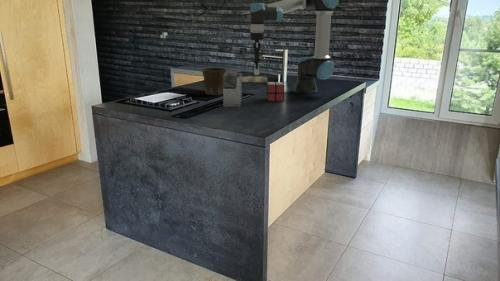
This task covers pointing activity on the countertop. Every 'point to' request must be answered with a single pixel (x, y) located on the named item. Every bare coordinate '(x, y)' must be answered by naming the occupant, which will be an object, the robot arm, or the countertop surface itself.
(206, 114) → the countertop surface
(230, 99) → the bracket
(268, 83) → the puzzle cube
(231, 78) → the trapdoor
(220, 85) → the plant pot
